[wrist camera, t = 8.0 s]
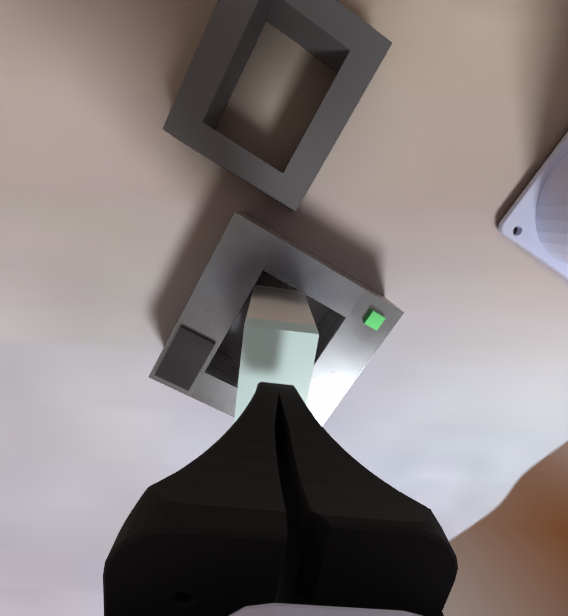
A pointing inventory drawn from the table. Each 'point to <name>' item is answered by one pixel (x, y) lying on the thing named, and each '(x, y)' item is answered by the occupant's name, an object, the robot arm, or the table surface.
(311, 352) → the plug
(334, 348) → the port
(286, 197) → the grey hollow square frame
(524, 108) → the table surface
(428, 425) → the table surface
